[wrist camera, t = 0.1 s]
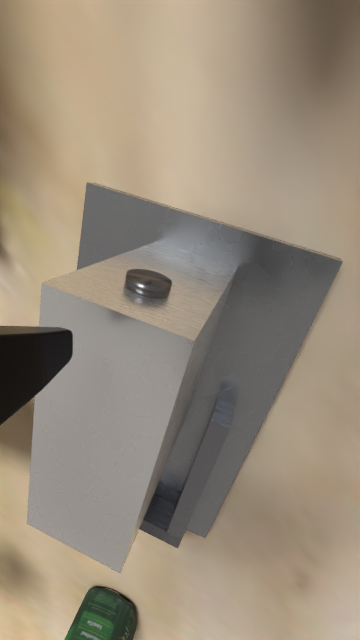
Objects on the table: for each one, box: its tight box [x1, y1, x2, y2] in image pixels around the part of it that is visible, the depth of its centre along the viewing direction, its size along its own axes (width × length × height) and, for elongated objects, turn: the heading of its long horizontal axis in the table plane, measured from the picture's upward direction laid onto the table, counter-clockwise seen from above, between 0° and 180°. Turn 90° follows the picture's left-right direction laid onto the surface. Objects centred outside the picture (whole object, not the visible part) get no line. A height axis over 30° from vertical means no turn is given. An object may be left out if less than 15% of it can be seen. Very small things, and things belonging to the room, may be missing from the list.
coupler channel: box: [77, 182, 343, 548], centre depth 26 cm, size 30×18×4 cm, turn 165°
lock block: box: [27, 241, 237, 573], centre depth 19 cm, size 16×6×12 cm, turn 165°
